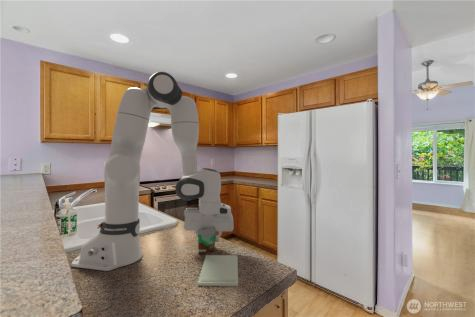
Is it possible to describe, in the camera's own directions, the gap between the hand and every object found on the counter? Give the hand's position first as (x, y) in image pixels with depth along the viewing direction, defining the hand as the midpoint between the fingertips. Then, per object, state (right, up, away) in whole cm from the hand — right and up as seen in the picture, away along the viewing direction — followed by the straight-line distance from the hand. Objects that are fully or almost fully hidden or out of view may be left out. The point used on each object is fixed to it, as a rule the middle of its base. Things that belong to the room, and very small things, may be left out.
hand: (208, 241), depth 92 cm
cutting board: (+6, -4, -16) cm, 18 cm away
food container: (0, -4, 0) cm, 4 cm away
